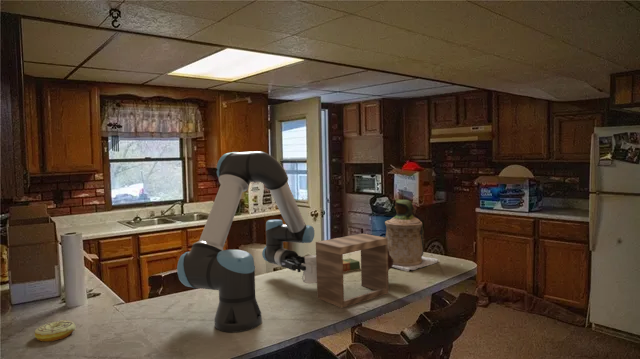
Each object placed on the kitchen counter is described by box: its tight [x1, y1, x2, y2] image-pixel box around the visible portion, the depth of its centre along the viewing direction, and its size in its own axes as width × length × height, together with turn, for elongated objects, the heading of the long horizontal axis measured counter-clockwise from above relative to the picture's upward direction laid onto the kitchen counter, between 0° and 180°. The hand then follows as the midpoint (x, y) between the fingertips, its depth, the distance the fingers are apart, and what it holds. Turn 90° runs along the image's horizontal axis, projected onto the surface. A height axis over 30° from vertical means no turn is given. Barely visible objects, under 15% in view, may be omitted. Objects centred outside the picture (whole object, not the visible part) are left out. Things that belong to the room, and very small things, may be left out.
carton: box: [343, 257, 361, 273], centre depth 203 cm, size 8×16×4 cm, turn 119°
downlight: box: [301, 254, 317, 285], centre depth 170 cm, size 8×7×10 cm
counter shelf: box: [315, 233, 390, 309], centre depth 165 cm, size 24×14×22 cm, turn 128°
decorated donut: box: [34, 319, 77, 343], centre depth 136 cm, size 10×11×4 cm
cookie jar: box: [384, 197, 439, 272], centre depth 212 cm, size 25×25×32 cm
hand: (319, 268), depth 167 cm, fingers closed on downlight, 7 cm apart
